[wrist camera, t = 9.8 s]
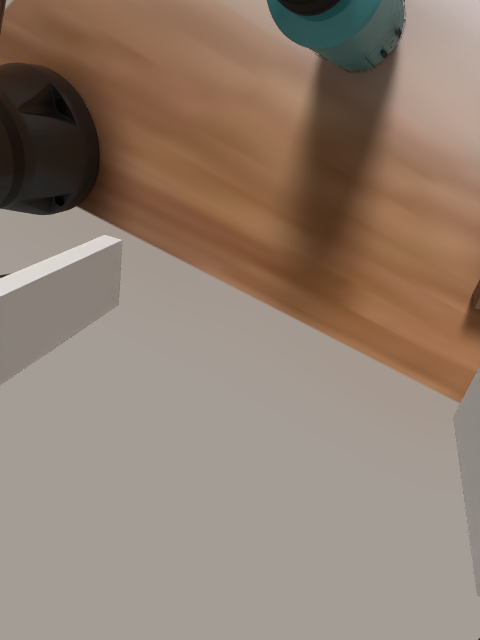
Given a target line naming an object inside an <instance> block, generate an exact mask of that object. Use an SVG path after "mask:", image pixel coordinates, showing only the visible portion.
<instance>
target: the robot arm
mask: <svg viewBox="0 0 480 640" xmlns="http://www.w3.org/2000/svg"><path fill="white" fill-rule="evenodd" d="M5 3H6V0H0V33H1V27H2V21H3V15H4V9H5ZM98 163H99V147H98V139H97V134H96V130H95V126H94V123H93V120H92V118H91V115H90V113H89V111H88V109H87V107H86V105H85V103H84V101H83V100H82V98H81V97H80V95H79V94H78V93H77V91H76V90H75V89H74V88H73V87H72V85H71V84H70V83H69V82H68V81H66V80H65V79H64V78H63V77H62V76H60V75H59V74H57V73H56V72H54V71H52V70H50V69H48V68H46V67H43V66H39V65H33V64H25V63H8V64H3V65H0V209H7V210H13V211H19V212H25V213H31V214H37V215H49V214H55V213H59V212H63V211H66V210H69V209H72V208H74V207H76V206H77V205H78V204H80V203H81V202H82V201H83V200H84V199H85V198H86V197H87V195H88V194H89V192H90V191H91V189H92V187H93V184H94V182H95V179H96V175H97V171H98ZM121 254H122V240H121V239H117V238H114V237H111V236H107V235H103V236H100V237H98V238H95V239H93V240H91V241H89V242H86V243H84V244H81V245H79V246H76V247H74V248H72V249H69V250H67V251H64V252H62V253H60V254H57V255H55V256H52V257H50V258H48V259H45V260H43V261H41V262H38V263H36V264H33V265H31V266H29V267H26V268H24V269H21V270H19V271H17V272H14V273H11V274H6V275H0V385H1V384H3V383H4V382H6V381H7V380H9V379H10V378H11V377H13V376H14V375H16V374H17V373H19V372H20V371H22V370H23V369H25V368H26V367H28V366H29V365H31V364H32V363H34V362H35V361H37V360H38V359H40V358H41V357H42V356H44V355H45V354H47V353H48V352H50V351H51V350H53V349H54V348H56V347H57V346H59V345H60V344H61V343H63V342H65V341H66V340H68V339H69V338H70V337H72V336H73V335H75V334H76V333H78V332H79V331H81V330H82V329H84V328H85V327H87V326H88V325H90V324H91V323H93V322H94V321H95V320H97V319H98V318H100V317H101V316H103V315H104V314H106V313H107V312H109V311H110V310H112V309H113V308H115V307H116V306H118V305H119V290H120V272H121ZM453 420H454V427H455V435H456V441H457V449H458V456H459V464H460V472H461V478H462V486H463V494H464V501H465V509H466V516H467V523H468V531H469V538H470V546H471V553H472V560H473V568H474V575H475V583H476V590H477V596H480V367H479V368H478V370H477V372H476V374H475V376H474V378H473V380H472V382H471V384H470V386H469V388H468V390H467V392H466V394H465V395H464V397H463V399H462V401H461V403H460V405H459V407H458V409H457V411H456V413H455V415H454V417H453ZM479 640H480V638H479Z"/></svg>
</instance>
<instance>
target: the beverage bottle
mask: <svg viewBox="0 0 480 640" xmlns="http://www.w3.org/2000/svg"><path fill="white" fill-rule="evenodd" d="M404 2H405V0H404ZM267 3H268V6H269V10H270V12H271V15H272V18H273V19H274V21H275V23H276V25H277V26H278V28H279V29H280V30H281V32H282V33H283V34H284V35H285V36H286V37H288V38H289V39H290V40H292V41H293V42H295V43H297V44H299V45H301V46H303V47H307V48H309V49H310V50H313V51H314V52H316V53H318V54H320V57H321V56H322V57H324V59H325V58H326V59H325V60H329V61H330V62H332V63H334V64H335V65H337V66H339V67H341V68H343V69H345V70H346V71H347V70H352V71H355V72H358V71H359V73H360V70H362V71H363V70H364V71H366V70H365V69H367V70H368V68H371V67H374V68H375V65H377V64H378V63H380V62H381V61H382V60H383V61H384V59H385V58H386V57H387V56H388V55H389V54H390V53H392V52H391V51H392V50H393V49H394V47H395V46H398V45H396V44H397V42H398V40H399V38H400V36H401V34H402V33H401V32H402V28H403V23H405V21H406V20H405V19H404V8H405V5H404V4H403V1H402V0H267ZM403 6H404V7H403ZM405 16H406V13H405ZM404 26H405V25H404ZM403 30H404V29H403ZM401 38H402V37H401ZM398 43H399V42H398ZM395 48H396V47H395ZM393 52H394V50H393ZM316 55H317V54H316ZM318 56H319V55H318ZM382 63H383V62H382ZM376 67H377V66H376ZM370 70H371V69H370ZM348 72H349V71H348ZM350 73H351V72H350Z"/></svg>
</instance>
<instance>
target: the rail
mask: <svg viewBox="0 0 480 640" xmlns="http://www.w3.org/2000/svg"><path fill="white" fill-rule="evenodd" d="M472 299H473V303H474V307H475V308H476V309H479V310H480V280H479V282H478V284H477V287H476V289H475V291H474V293H473V295H472Z"/></svg>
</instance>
